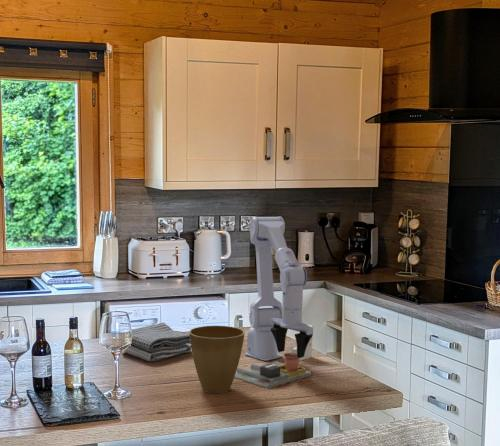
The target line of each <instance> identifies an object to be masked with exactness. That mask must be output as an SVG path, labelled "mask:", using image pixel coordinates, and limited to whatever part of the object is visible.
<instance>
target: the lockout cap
mask: <svg viewBox="0 0 500 446" xmlns="http://www.w3.org/2000/svg"><path fill="white" fill-rule="evenodd" d="M283 358H284V364H285V367H284V370H286V371H290V372H293V371H296V370H298V366H299V362H300V360H299V358H298V357H297V354H296V353H292V352H287V353H284V354H283Z"/></svg>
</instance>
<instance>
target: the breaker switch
mask: <svg viewBox="0 0 500 446" xmlns="http://www.w3.org/2000/svg"><path fill="white" fill-rule="evenodd" d="M267 364H268V363H267ZM260 375H263V376H266V377H269V378H274V377H277V376H280V367H278V366H276V365H275V364H273V365H272V364H268V365H265V366H261V367H260Z"/></svg>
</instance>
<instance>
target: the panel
mask: <svg viewBox="0 0 500 446" xmlns="http://www.w3.org/2000/svg"><path fill="white" fill-rule="evenodd" d="M268 364H272V365H273V364H275V365H276V366H278V367H280V376H277V377H274V378H269V377H266V376H263V375H260V367H261V366H265V365H268ZM284 367H285V363H283V362H279V361H276V360H275V361H272V362H268V363H264V364H261V365H257V364H254V363H252V364H250V368H246V369H244V368H241V367H237V370H236V374H235V377H234V378H236V379H239V380H242V381H245V382H247V383H250V384H255V385H257V386H259V387H262V388H266V389H270V388H274V387H277V386H281V385H283V384H287V383H290V382H293V381H297V380H300V379H304V378H306V377H307V378H308V377H310V376H311V374H312V373H311V371H308V370H307V368H306V367H303V366H300V365H298V370H296V371H293V372H290V371H286V370H284Z"/></svg>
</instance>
